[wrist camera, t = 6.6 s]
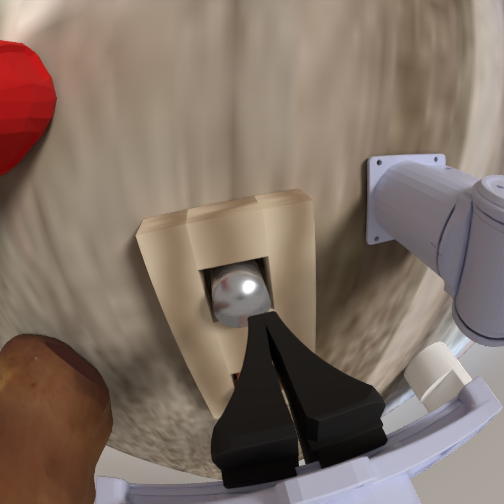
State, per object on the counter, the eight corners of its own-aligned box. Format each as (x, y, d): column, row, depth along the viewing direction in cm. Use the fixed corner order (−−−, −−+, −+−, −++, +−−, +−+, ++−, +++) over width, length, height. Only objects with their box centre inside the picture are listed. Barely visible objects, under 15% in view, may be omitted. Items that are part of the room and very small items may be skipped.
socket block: (298, 188, 21) (313, 200, 18) (305, 378, 33) (312, 397, 30) (143, 219, 20) (135, 235, 17) (212, 399, 32) (214, 418, 29)
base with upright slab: (426, 374, 41) (456, 420, 31) (394, 382, 39) (426, 435, 29) (452, 339, 38) (489, 385, 27) (422, 344, 35) (463, 399, 25)
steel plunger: (255, 246, 22) (267, 276, 18) (261, 287, 24) (273, 321, 20) (205, 256, 22) (207, 289, 18) (215, 296, 24) (219, 332, 20)
